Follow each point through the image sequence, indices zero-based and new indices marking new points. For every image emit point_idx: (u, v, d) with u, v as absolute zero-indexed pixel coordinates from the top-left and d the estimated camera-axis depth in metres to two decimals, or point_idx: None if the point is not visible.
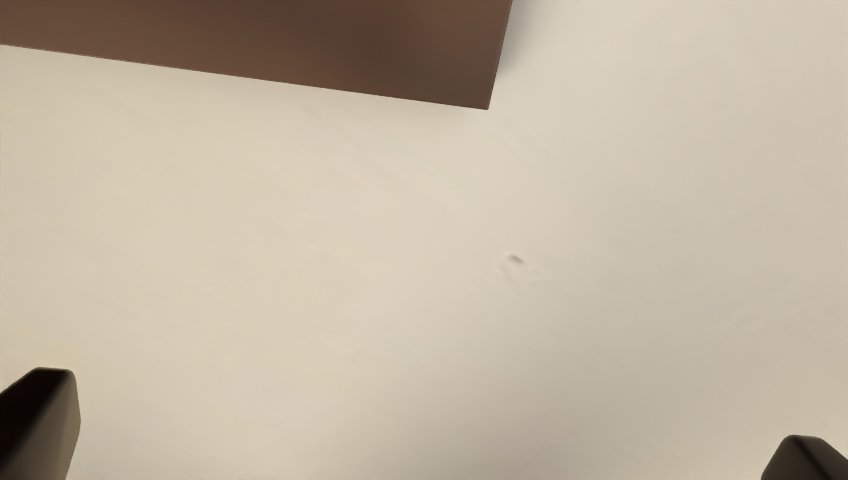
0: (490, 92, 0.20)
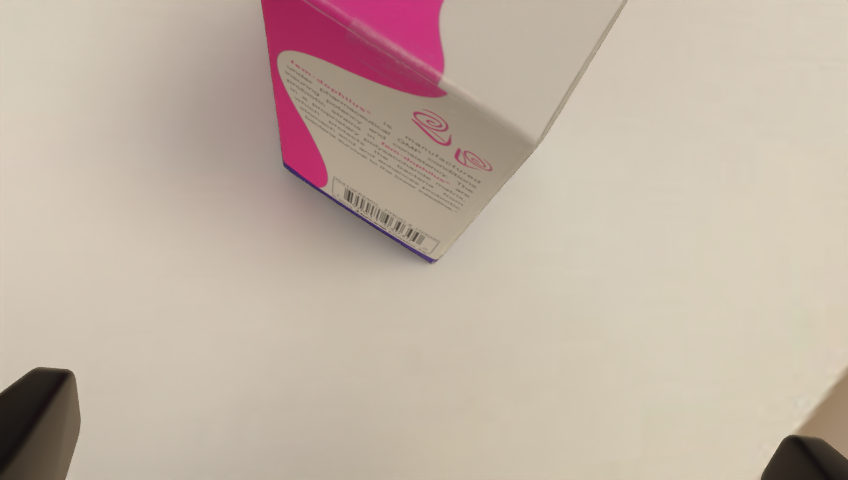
0: None
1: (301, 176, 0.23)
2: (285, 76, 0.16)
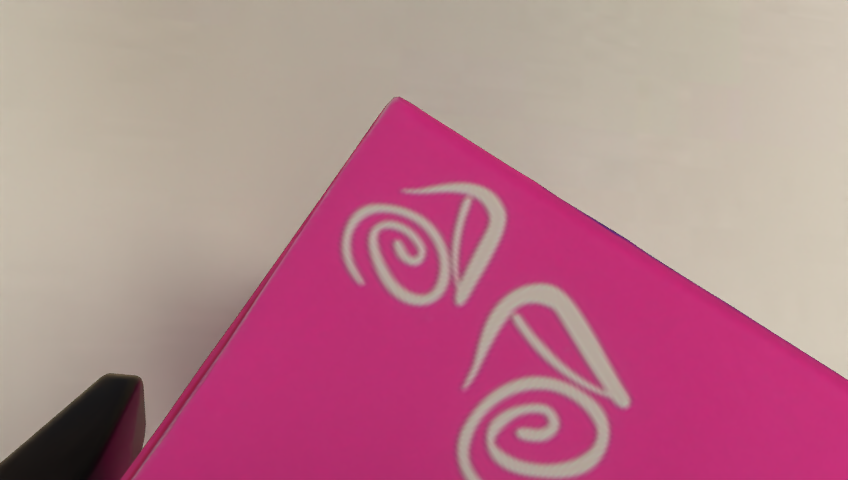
0: None
1: None
2: None
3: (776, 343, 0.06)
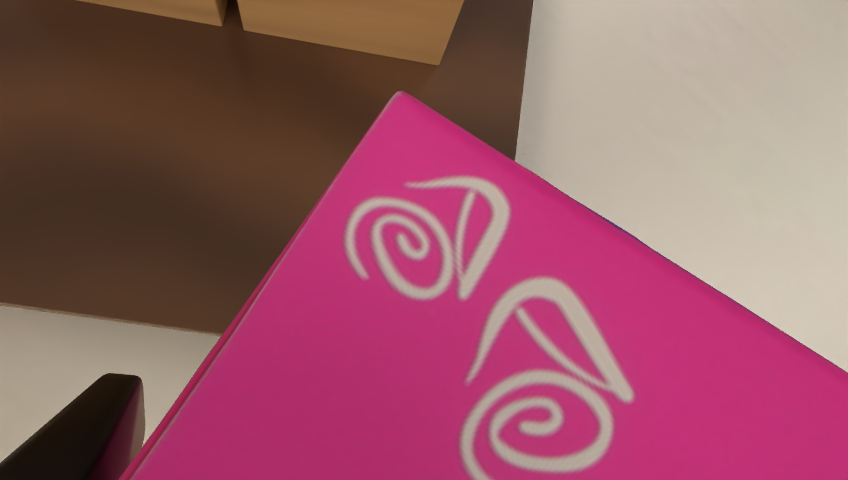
0: None
1: None
2: None
3: (779, 337, 0.06)
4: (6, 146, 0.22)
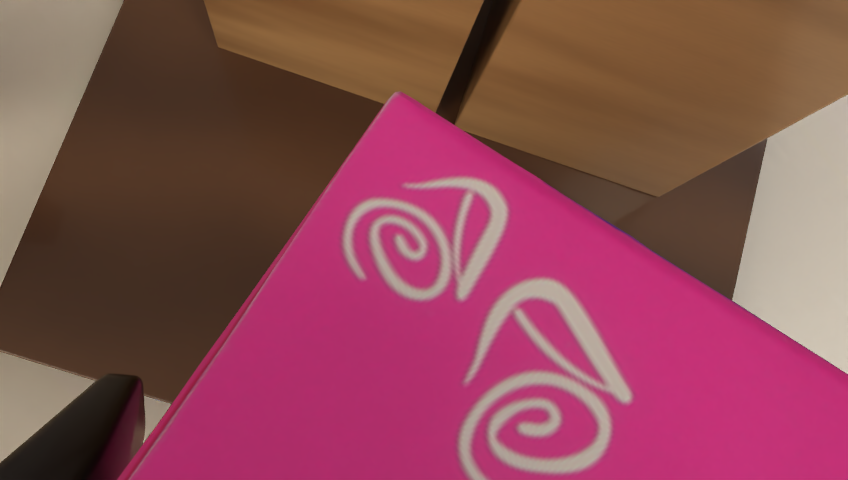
0: None
1: None
2: None
3: (778, 338, 0.05)
4: (185, 220, 0.19)
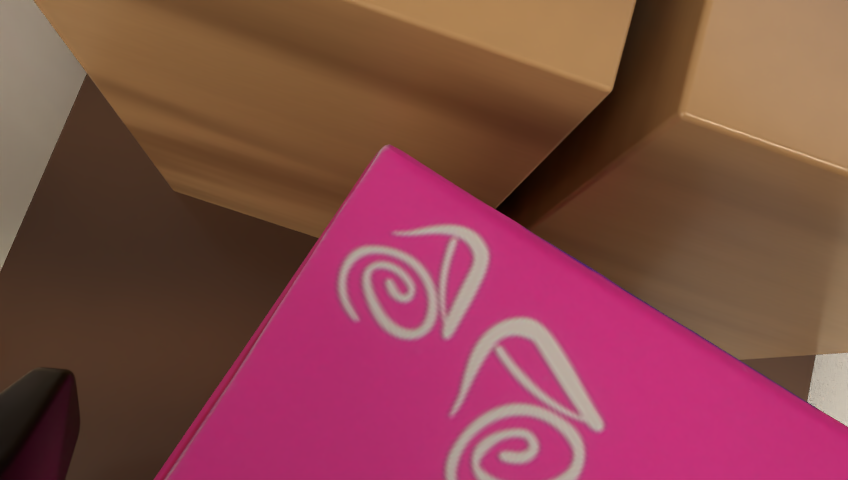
0: None
1: None
2: None
3: (739, 369, 0.06)
4: (130, 408, 0.16)
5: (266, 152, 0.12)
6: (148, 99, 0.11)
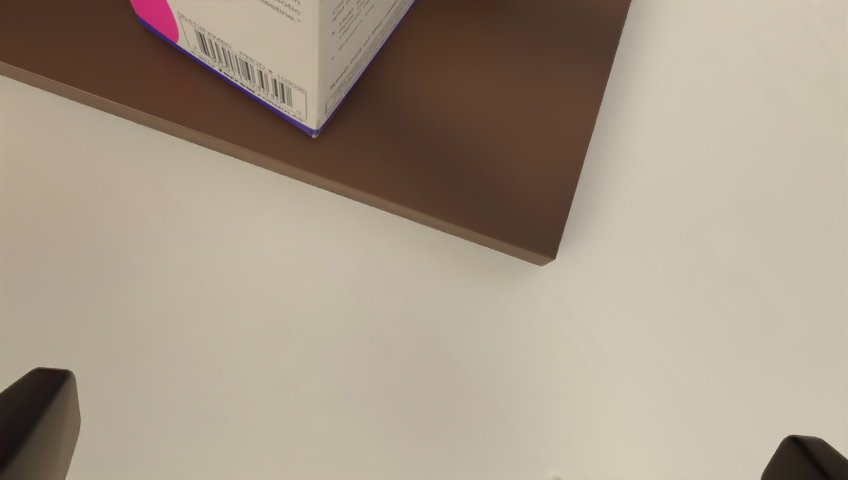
0: (559, 241, 0.20)
1: (156, 30, 0.19)
2: None
3: None
4: None
5: None
6: None
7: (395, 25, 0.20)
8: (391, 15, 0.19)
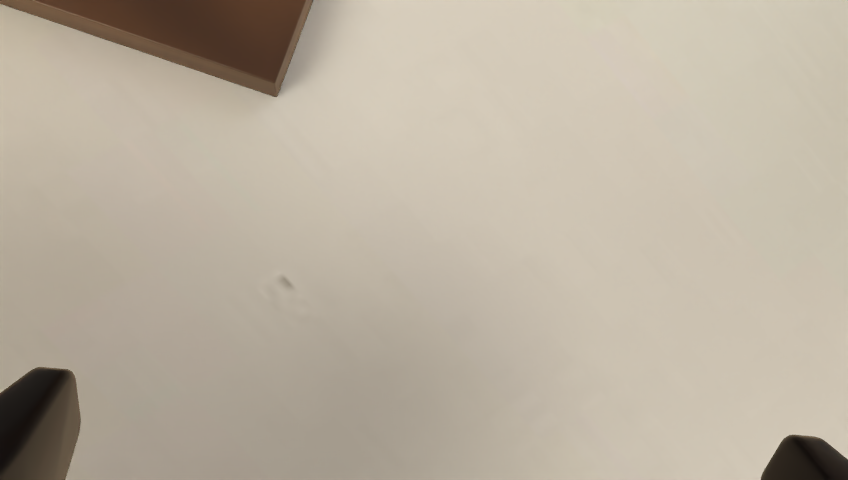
0: (279, 67, 0.23)
1: None
2: None
3: None
4: None
5: None
6: None
7: None
8: None
